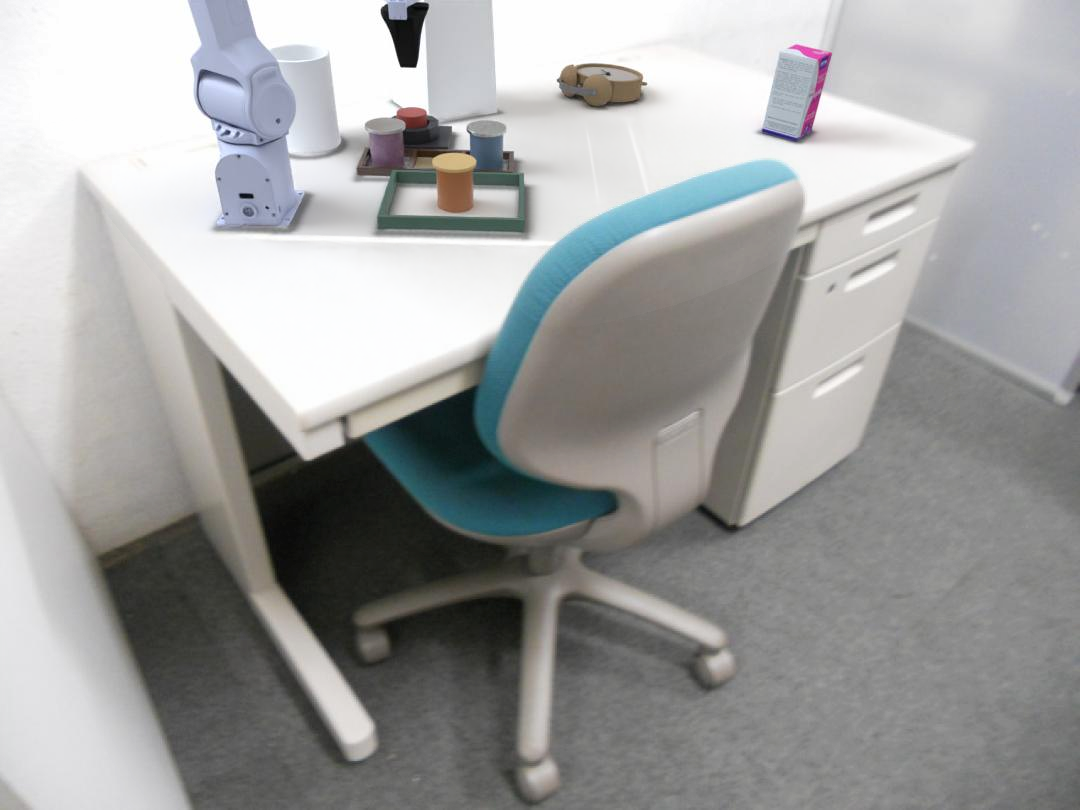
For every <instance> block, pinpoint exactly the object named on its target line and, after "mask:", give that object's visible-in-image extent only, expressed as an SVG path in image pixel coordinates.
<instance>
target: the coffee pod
mask: <svg viewBox="0 0 1080 810" xmlns="http://www.w3.org/2000/svg"><path fill="white" fill-rule="evenodd" d="M432 165H433V167H434V168H435V169H436V177H437V184H436V196H437V197H436V199H437V207H438V209H440V210H441V211H443V212H447V213H451V214H458V213H459V214H460V213H465V212H468V211H470V210H472V209H473V208H474V205H475V204H474V203H475V202H474V185H473V169H474V168H475V167H476V159H475V158H474V157H472V156H470V155H467V154H463V153H446V154H441V155H438V156H436V157H435V158H434V159H433V160H432Z"/></svg>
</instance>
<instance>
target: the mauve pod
mask: <svg viewBox="0 0 1080 810" xmlns="http://www.w3.org/2000/svg"><path fill="white" fill-rule="evenodd" d="M405 127H406V125H405V122H404V121H402V120H400V119H396V118H391V117H377V118H373V119H372V118H371V119H369V120H367V121H366V122H365V123H364V129H365V131H366V132H368V139H369V147H370V151H371V156H370V161H371V166H372V167H405V166H406V160H405V159H406V157H404V143H403V130H404V129H405Z"/></svg>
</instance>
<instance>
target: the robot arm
mask: <svg viewBox="0 0 1080 810" xmlns="http://www.w3.org/2000/svg"><path fill="white" fill-rule="evenodd" d="M383 1H384V2H385V4H384V5H382V6H381V8H380V10H379V11H380V16H381V18H382V20H383V21H384V23H385V26H386V27H387V29H388V32H389V34H390V38H391V37H392V40H393V43H394V47H395V51H396V55H397V59H398V62H399V65H400V67H401V68H416V67H417V63H418V58H419V50H420V40H421V33H422V27H423V23H424V19H425V17H426V14H427V12H428V9H429V4H428V3H425V2H418V1H420V0H383ZM187 3H188V5H189V9H190V13H191V15H192V19H193V22H194V25H195V29H196V31H197V35H198V38H199V40H200V41H199V42H200V45H199V46H198V47H197V49H196V50H195V51H194V52H193V54H192V55H191V56H190V59H189V60H190V65H191V67H192V71H193V78H194V79H193V98H194V101H195V104H196V107H197V108H198V110H199V111H200V113H201V114H202V115H203V116H205V117H206V118H207V119H208V120H209V119H210V122H211V127H212V128H211V129H212V130H213V131H215V135H216V140H217V143H218V148H219V158H218V160H217V162H216V165H215V169H214V178H215V179H214V180H215V183H216V187H217V193H218V196H219V197H218V198H219V201H220V205H221V210H222V214H221V216H220V217H219V218H218V220H217V221H216V225H217V227H234V228H237V227H238V228H242V227H243V226H262V227H263V226H264V227H288V226H290V224H291V222H292V220H293V219H294V216H295V214H296V212H297V210H298V208H299V207H300V204H301V202H302V201H303V198H304V197H305V195H306V190H302V189H301V190H299V189H298V190H297V189H295V184H294V183H295V182H294V178H293V172H292V166H291V165H292V164H291V160H290V152H288V146H287V140H286V135H288V134H289V128H290V127H291V125H292V123H293V121H294V117H295V113H296V100H295V96H294V93H293V91H292V89H291V87H290V86H289V85H288V83H287V82H286V81H285V79H284V78H283V76H282V74H281V71H280V67H279V63H278V61H277V60H276V58H275V57H274V56H273V55H272V54H271V53H270V51H269V50H268V48H267V47H266V46H265V45H264V44H263V43H262V41H261V40H260V39H259V37H258V36H257V32H256V28H255V25H254V20H253V16H252V12H251V10H250V6H249V2H248V0H187Z"/></svg>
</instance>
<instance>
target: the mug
mask: <svg viewBox="0 0 1080 810" xmlns="http://www.w3.org/2000/svg"><path fill="white" fill-rule="evenodd" d="M267 49H268V48H267ZM268 50H269V51H270V53H271V54H272V55H273V56H274V57H275V58H276V60H277V61H278V63H279V67H280V71H281V74H282V76H283V78H284V79H285V81H286V82H287V83H288V85H289V86H290V87H291V89H292V91H293V93H294V96H295V100H296V113H295V117H294V121H293V123H292V125H291V127H290V128H289V134H288V135H286V140H287V146H288V152H289V153H292V154H302V155H303V154H306V155H307V154H318V153H324V152H327V151H331V150H333V149H335V148H337V147H338V146H340V145H341V143H342V138H341V135H340V129H339V122H338V115H337V114H338V113H337V106H336V105H337V104H336V97H335V91H334V89H335V88H334V82H333V81H334V80H333V72H332V63H331V56H330V51H329V49H328V48H326V47H323V46H320V45H317V44H316V45H315V44H307V43H293V44H292V43H291V44H283V45H278V46H274V47H271V48H269V49H268Z"/></svg>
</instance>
